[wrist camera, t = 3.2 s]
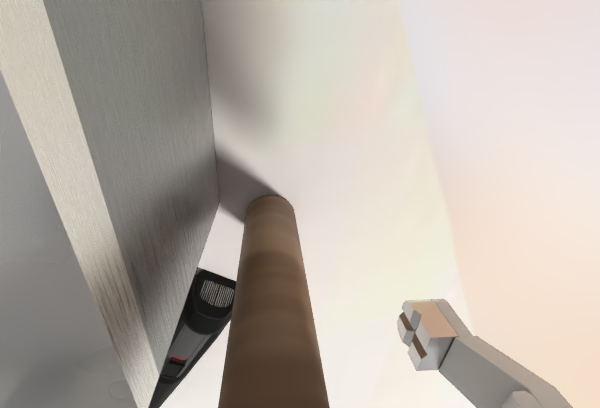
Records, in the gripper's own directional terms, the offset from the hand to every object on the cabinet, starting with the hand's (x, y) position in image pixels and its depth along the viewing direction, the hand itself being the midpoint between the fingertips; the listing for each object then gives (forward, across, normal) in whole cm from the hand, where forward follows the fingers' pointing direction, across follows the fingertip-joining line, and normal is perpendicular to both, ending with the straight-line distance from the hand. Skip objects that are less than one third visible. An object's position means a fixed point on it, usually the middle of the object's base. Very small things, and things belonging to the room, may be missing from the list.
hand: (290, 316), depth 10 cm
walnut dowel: (+8, -1, 0) cm, 8 cm away
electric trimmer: (+8, -8, -12) cm, 16 cm away
